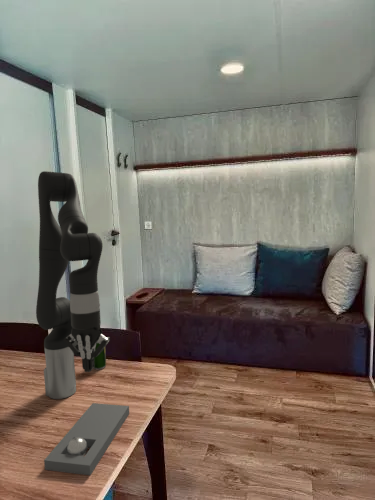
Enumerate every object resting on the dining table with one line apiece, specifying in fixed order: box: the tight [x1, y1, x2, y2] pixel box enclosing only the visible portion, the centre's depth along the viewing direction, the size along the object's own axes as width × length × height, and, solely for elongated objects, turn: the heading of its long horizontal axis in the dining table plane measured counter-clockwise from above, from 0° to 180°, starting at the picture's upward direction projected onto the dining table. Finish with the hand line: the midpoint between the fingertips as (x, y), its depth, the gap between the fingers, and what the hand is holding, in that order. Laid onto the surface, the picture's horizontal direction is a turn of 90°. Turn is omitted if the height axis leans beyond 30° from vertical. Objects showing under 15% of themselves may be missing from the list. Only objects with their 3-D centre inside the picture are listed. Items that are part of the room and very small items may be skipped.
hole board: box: [43, 402, 130, 476], centre depth 98 cm, size 12×26×2 cm, turn 169°
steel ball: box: [67, 437, 88, 456], centre depth 91 cm, size 5×5×5 cm
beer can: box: [93, 338, 107, 371], centre depth 143 cm, size 5×5×12 cm
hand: (88, 370), depth 97 cm, fingers closed
